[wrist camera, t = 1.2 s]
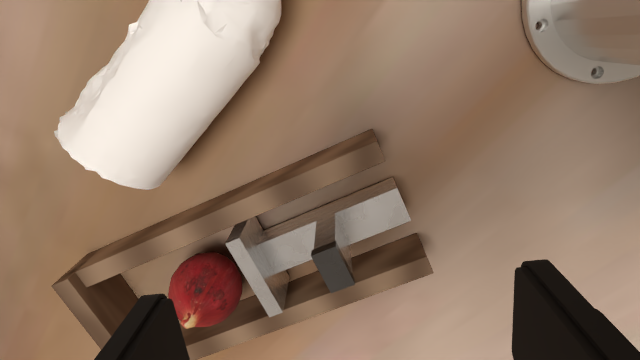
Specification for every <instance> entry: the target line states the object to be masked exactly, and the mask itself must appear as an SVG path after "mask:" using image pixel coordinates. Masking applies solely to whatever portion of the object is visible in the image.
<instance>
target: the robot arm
mask: <svg viewBox="0 0 640 360" xmlns="http://www.w3.org/2000/svg"><path fill="white" fill-rule="evenodd" d="M522 20H523V24H524V28H525V33H526V36H527V38H528V40H529V42H530V45H531V47H532V49H533V50H534V52H535V53H536V54H537V56H538V57H539V58H540V60H541V61H542V62H543V63H544V64H546V65H547V66H548V67H549V68H550V69H552V70H553V71H554V72H556V73H558V74H560V75H562V76H564V77H566V78H569V79H573V80H577V81H580V82H586V83H592V84H608V83H617V82H621V81H626V80H630V79H633V78H636V77H638V76H640V0H522ZM537 22H538V23H539V27H538V29H535V25H536V23H537ZM592 70H593V72H592V74H591V71H592ZM512 354H513V359H514V360H640V352H639V351H638V350H637V349H636V348H635V347H634V346H633V345H632V344H631V343H630V342H629V341H628V340H627V339H626V337H625V336H624V335H623V334H622V333H621V332H620V331H619V330H618V329H617V328H616V327H615V326H614V325H613V324H612V323H611V322H610V321H609V320H608V319H607V318H606V317H605V316H604V315H603V314H602V313H601V312H600V311H599V310H597V309H594V308H593V307H592V305H591V304H590V303H589V302H588V301H587V300H586V299H585V298H584V297H583V296H582V295H581V294H580V293H579V292H578V291H577V290H576V289H575V288H574V287H573V285H572V284H571V283H570V282H569V281H568V280H567V279H566V278H565V277H564V276H563V275H562V274H561V273H560V272H559V271H558V270H557V269H556V268H555V267H554V265H553V264H552V263H551V262H550V261H548V260H534V261H524V262H523V263H522V265H521V267H519V268H516V270H515V281H514V307H513V332H512ZM94 360H190V358H189V355H188V351H187V348H186V344H185V341H184V337H183V334H182V331H181V327H180V324H179V320H178V317H177V313H176V310H175V307H174V303H173V301H172V299H170V298H168V299H167V297H166V296H165V294H154V295H144V296H141V297H140V298H139V300H138V301H137V302H136V304H135V305H134V306H133V308H132V309H131V311H130V312H129V313H128V315H127V316H126V317H125V319H124V320H123V321H122V323H121V324H120V325H119V327H118V328H117V329H116V331H115V332H114V334H113V335H112V336H111V338H110V339H109V340H108V342H107V343H106V344H105V346H104V347H103V348H102V350H101V351H100V352H99V354H98V355H97V357H96V358H95V359H94Z"/></svg>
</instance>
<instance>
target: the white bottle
mask: <svg viewBox="0 0 640 360" xmlns="http://www.w3.org/2000/svg"><path fill="white" fill-rule="evenodd" d="M280 17H281V0H149V2H148V4H147V5H146V7H145V9H144V10H143V12H142V14H141V15H140V17H139V19H138V21H137V22H136V23H133V24H129V29H128V34H127V37H126V39H125V42H123V43H122V45H121V46H120V47H119V48H118V49H117V50H116V52H115V53H114V54H113V56H112V58H111V60H110V62H109V64H108V65H106V66H104V67H103V68H102V69H101V70H100V71H99V72H97V73H96V74H95V75H94V76H93V77H92V78H91V79H90V80H89V81H88V82H87V85H86V87H85V88H84V89H83V90H82V92H81V94H80V97H79V99H78V100H77V102H76V104H75V106H74V107H73V108H72V109H71V110H70V111H69V112H66V114H65V115H64V116H61V117H60V121H61V122H60V123H59V124H58V130H57V131H54V134H55V137H56V138H58V139H59V142H60V144H61V145H62V147H63V148H64V149H65V150H66V151H68V152H69V154H70V156H71V157H72V158H73V159H75V160H77V161H78V162H79V163H80V164H81V165H83V166H84V167H85V170H92V171H97V173H98V174H99V175H100V176H101V177H102V178H105V179H108V180H111V181H113V182H115V183H117V184H120V185H124V186H128V187H132V188H138V189H146V190H150V189H153V188H156V187H159V186H160V185H161V184H162V183H163V182H164V181H165V179H166V178H167V176H168V175H169V174H170V173H171V172H172V170H173V169H174V168H175V167H176V166H177V164H178V163H179V162H180V161H181V159H182V158H183V157H184V156H185V155H186V153H187V152H188V151H189V150H190V148H191V147H192V146H193V145H194V143H195V142H196V141H197V140H198V138H199V137H200V136H201V135H202V134H203V132H204V131H205V130H206V129H207V128H208V126H209V125H210V124H211V122H212V121H213V120H214V118H215V117H216V116H217V115H218V114H219V113H220V112H221V110H222V109H223V108H224V107H225V105H226V104H227V103H228V102H229V101H230V99H231V98H232V97H233V96H234V94H235V93H236V92H237V91H238V89H239V88H240V87H241V85H242V84H243V83H244V82H245V80H246V79H247V78H248V77H249V76H250V75H251V73H252V72H253V71H254V70H255V69H256V67H257V66H258V65H259V63H260V61H259V59H260V56H261V54H262V53H263V52H264V49H265V48H266V47H267V46H268V45H269V41H270V38H271V37H272V36H273V33H274V29H275V28H276V26H277V25H278V23H279V21H280Z"/></svg>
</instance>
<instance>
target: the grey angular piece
mask: <svg viewBox="0 0 640 360" xmlns="http://www.w3.org/2000/svg"><path fill="white" fill-rule="evenodd" d="M409 221H411V219H410V216H409V214H408V212H407V209H406V207H405V204H404V202H403V200H402V197H401V195H400V193H399V190H398V188H397V186H396V183H395V181H394V179H393V177H392V178H389V179H387V180H385V181H382V182H380V183H377V184H375V185H372V186H370V187H368V188H365V189H363V190H360V191H358V192H356V193H353V194H351V195H348V196H346V197H344V198H341V199H339V200H336V201H334V202H331V203H329V204H327V205H324V206H322V207H319V208H317V209H315V210H312V211H310V212H307V213H305V214H303V215H300V216H298V217H295V218H293V219H290V220H288V221H286V222H283V223H281V224H278V225H276V226H274V227H271V228H269V229H266V230H264V231H263V229H262V227H261V225H260V224H259V222H258V220H257V218H256V216H254V217H252V218H250V219H247V220H245V221H243V222H240V223H238V224H236V225H235V226H234V228H233V230H232V232H231V234H230V236H229V238H228V240H227V241H226V243H225V244H226V246H227V248H228V249H229V251H230V253H231V254H232V256H233V258H234V259H235V261H236V263H237V264H238V266H239V268H240V269H241V271H242V273H243V274H244V276H245V278H246V279H247V281H248V282H249V284H250V286H251V287H252V289H253V291H254V292H255V294H256V296H257V297H258V299H259V301H260V302H261V304H262V306H263V307H264V309H265V311H266V312H267V314H268V316H269V317H272V316H275V315H277V314H280V313H283V310H284V304H285V299H286V293H287V288H288V282H289V275H288V273H287V272H286V269H289V268H292V267H294V266H297V265H299V264H302V263H304V262H307V261H309V260H312V259H313V261H314V263H315V264H316V266H317V268H318V270H319V272H320V274H321V276H322V278H323V280H324V281H325V283H326V285H327V287H328V289H329V291H330V293H334V292H337V291H339V290H342V289H345V288H347V287H350V286H353V285H355V278H354V276H353V274H352V261H351V248H350V244H353V243H355V242H358V241H360V240H363V239H366V238H368V237H371V236H373V235H376V234H378V233H381V232H383V231H386V230H389V229H391V228H394V227H396V226H399V225H401V224H404V223H406V222H409Z"/></svg>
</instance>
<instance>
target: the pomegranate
mask: <svg viewBox="0 0 640 360" xmlns="http://www.w3.org/2000/svg"><path fill="white" fill-rule="evenodd" d="M241 294H242V277H241V275H240V273H239V271H238V269H237V267H236V265H235V264H234V263H233V262H232V261H231V260H230V259H229V258H228V257H226V256H224V255H221V254H219V253H216V252H208V253H198V254H196V255H194V256H192V257H190V258H189V259H187V260H186V261H184V262H183V263H182V264H181V265H180V266H179V267H178V269H177V270H176V271H175V272H174V274H173V276H172V278H171V282H170V287H169V293H168V296H169V298H170V299H172V301H173V303H174V307H175V310H176V313H177V317H178V319H179V320H181V323H180V324H181V325H182V326H183V327H184V328H186V329H188V328H192V327H209V326H212V325H215V324H218V323H221V322H222V321H224V320H225V319H226V318H227V317H228V316H229V315H230V314H231V313H232V312H233V311H234V310H235V309H236V307H237V305H238V303H239V300H240V297H241Z"/></svg>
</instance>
